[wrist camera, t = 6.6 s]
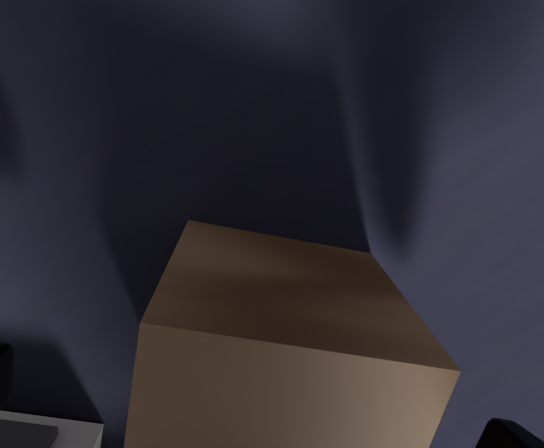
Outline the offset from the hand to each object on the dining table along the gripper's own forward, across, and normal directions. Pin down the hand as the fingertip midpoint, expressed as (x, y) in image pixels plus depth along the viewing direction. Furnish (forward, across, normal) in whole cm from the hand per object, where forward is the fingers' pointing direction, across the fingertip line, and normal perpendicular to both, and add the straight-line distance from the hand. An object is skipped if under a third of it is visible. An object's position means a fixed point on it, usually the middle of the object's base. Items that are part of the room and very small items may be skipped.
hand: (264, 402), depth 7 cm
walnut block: (+3, 0, 0) cm, 3 cm away
